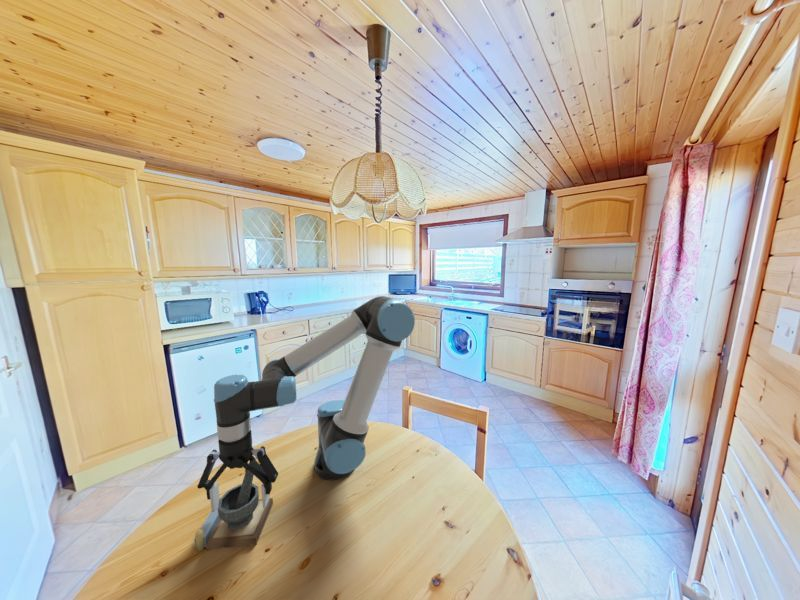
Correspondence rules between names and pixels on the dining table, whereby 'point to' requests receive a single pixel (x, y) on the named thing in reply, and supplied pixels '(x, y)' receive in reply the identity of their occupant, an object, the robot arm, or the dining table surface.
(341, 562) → the dining table surface
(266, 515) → the stand
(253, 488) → the mortar and pestle
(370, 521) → the dining table surface
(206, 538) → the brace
